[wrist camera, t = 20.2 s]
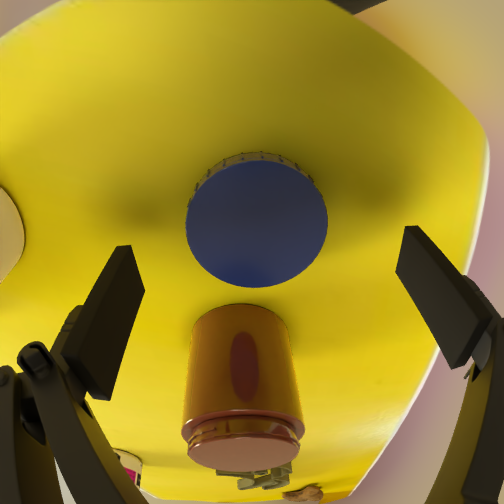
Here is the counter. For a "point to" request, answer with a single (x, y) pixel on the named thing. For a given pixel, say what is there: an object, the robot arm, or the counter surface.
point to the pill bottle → (9, 235)
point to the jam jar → (241, 391)
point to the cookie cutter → (271, 481)
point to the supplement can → (130, 465)
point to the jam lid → (256, 220)
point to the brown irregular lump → (305, 494)
